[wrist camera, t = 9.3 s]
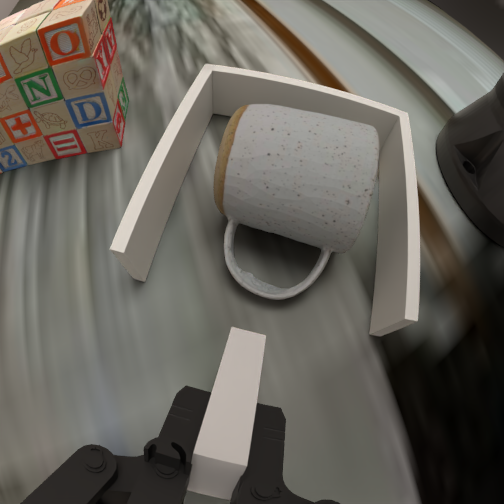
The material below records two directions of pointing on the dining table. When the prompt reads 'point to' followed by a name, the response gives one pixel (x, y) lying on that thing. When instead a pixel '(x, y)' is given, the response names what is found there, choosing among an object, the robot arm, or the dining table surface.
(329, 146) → the ceramic mug
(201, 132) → the white u-shaped bracket
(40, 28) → the stack of blocks
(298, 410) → the dining table surface
